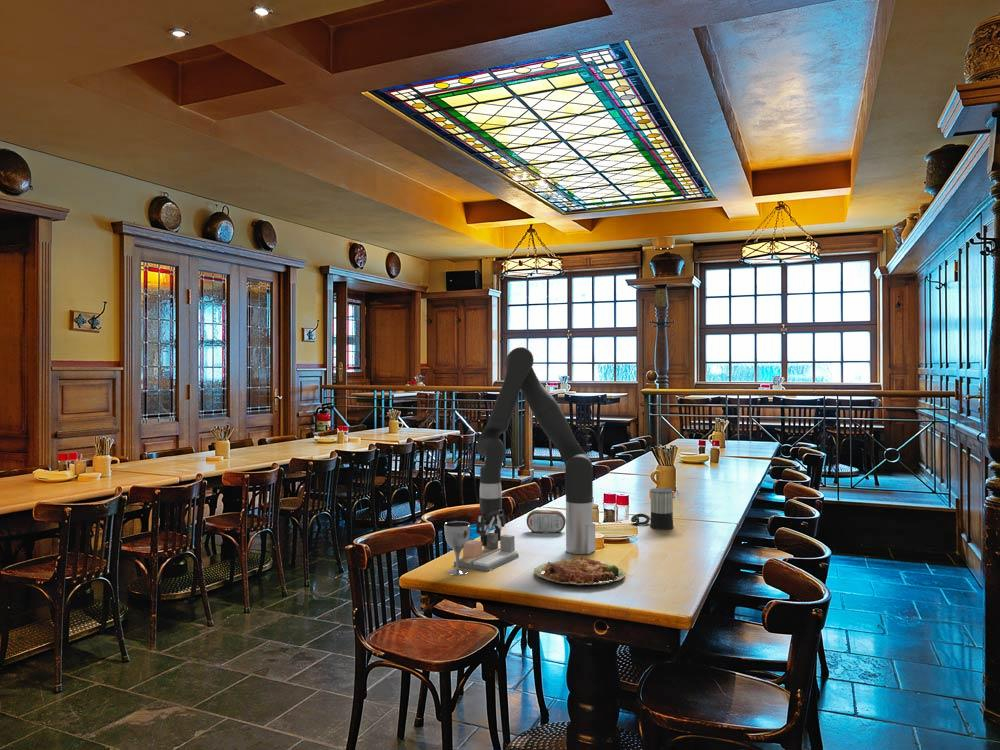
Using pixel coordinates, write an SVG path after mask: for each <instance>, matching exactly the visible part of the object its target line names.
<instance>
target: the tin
mask: <svg viewBox="0 0 1000 750" xmlns="http://www.w3.org/2000/svg"><path fill="white" fill-rule="evenodd" d="M526 525H527V527H528V529H529V530H530V531H531V532H532V533H536V532H558V533H560V532H562V531H563V530H564V528H566V516H565V515H564V514H563V513H562V512H561V511H560V510H559V511H558V510H549V509H548V510H545V509H544V510H543V509H535V510H532V511H530V512H529V513H528V515H527V517H526Z"/></svg>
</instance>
